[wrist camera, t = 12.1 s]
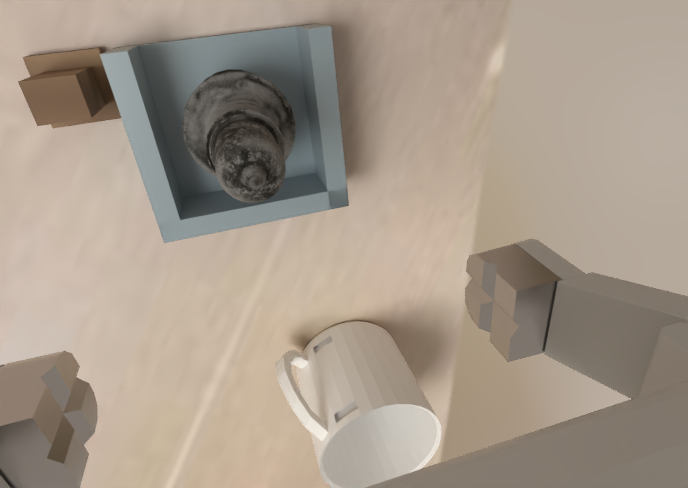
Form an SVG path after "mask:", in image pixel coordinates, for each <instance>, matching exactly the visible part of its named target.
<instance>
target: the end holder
mask: <svg viewBox="0 0 688 488" xmlns="http://www.w3.org/2000/svg"><path fill="white" fill-rule="evenodd" d="M100 57H101V60H102V63H103V66H104V68H105V71H106V74H107V77H108V80H109V83H110V86H111V89H112V92H113V95H114V98H115V101H116V103H117V106H118V109H119V112H120V115H121V118H122V121H123V124H124V127H125V130H126V133H127V136H128V138H129V141H130V144H131V147H132V150H133V153H134V156H135V159H136V162H137V165H138V168H139V171H140V173H141V176H142V179H143V182H144V185H145V188H146V191H147V194H148V197H149V200H150V203H151V206H152V208H153V211H154V214H155V217H156V220H157V223H158V226H159V229H160V232H161V235H162V238H163V241H164V243H167V242H172V241H177V240H182V239H187V238H192V237H197V236H202V235H207V234H212V233H217V232H222V231H226V230H231V229H236V228H241V227H246V226H251V225H256V224H261V223H266V222H271V221H276V220H281V219H286V218H291V217H296V216H301V215H305V214H310V213H315V212H320V211H325V210H330V209H335V208H340V207H345V206H349V203H348V193H347V183H346V172H345V162H344V152H343V142H342V131H341V121H340V111H339V101H338V90H337V80H336V70H335V60H334V49H333V39H332V29H331V26H327V25H320V24H309V25H300V26H292V27H284V28H275V29H267V30H259V31H250V32H242V33H234V34H225V35H217V36H209V37H200V38H192V39H184V40H176V41H167V42H159V43H151V44H142V45H134V46H126V47H117V48H114V49H111V50H109V51H106V52H104V53H102V54H100ZM228 69H230V70H243V71H246V72H250V73H253V74H255V75H258V76H261V77H263V78H264V79H266V80H267V81H269V82H271V83H272V84H274V85H275V86H276V87H277V88H278V89H279V90H280V91H281V92H282V94H283V95H284V96H285V97H286V99H287V101H288V103H289V105H290V106H291V108H292V112H293V115H294V119H295V140H294V144H293V148H292V151H291V152H290V154H289V156H288V158H287V160H286V161H285V164H286V173H285V178H284V182H283V184H282V186H281V188H280V189H279V191H278V192H277V193H276V194H275V195H274V196H272V197H271V198H269V199H267V200H265V201H262V202H259V203H247V202H242V201H239V200H237V199H235V198H233V197H232V196H230V195H229V194H228V193H227V192H226V191H225V190H224V189H223V187H222V186H221V185H220V183H219V181H218V179H217V177H216V176H213V175H211V174H209V173H208V172H207V171H206V170H205V169H203V168H202V167H201V166H200V165H198V163H197V162H196V161H195V159H194V158H193V157H192V155H191V154H190V153H189V150H188V148H187V145H186V143H185V140H184V137H183V128H182V120H183V114H184V108H185V106H186V104H187V102H188V100H189V97H190V95H191V94H192V93H193V92H194V91H195V89H196V88H197V87H198V86H199V85H200V84H201V83H202V82H203V81H204V80H205V79H206V78H208V77H210V76H211V75H213V74H215V73H216V72H220V71H224V70H228Z"/></svg>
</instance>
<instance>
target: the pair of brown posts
mask: <svg viewBox="0 0 688 488" xmlns="http://www.w3.org/2000/svg"><path fill="white" fill-rule="evenodd" d="M102 53H103V52H102V49H101V47H100V48H91V49H83V50H75V51H66V52H58V53H49V54H41V55H33V56H26V57H23V59H24V62H25V64H26V67H27V69H28V71H29V74H30V76H31V77H29V78H27V79H24V80H21V81H19V82H18V83H19V85H20V87H21V89H22V92H23V94H24V96H25V98H26V101H27V103H28V105H29V108H30V110H31V112H32V114H33V117H34V119H35V121H36V123H37V126H41V125H48V124H51V125H52V128H57V127H64V126H71V125H78V124H84V123H91V122H98V121H105V120H111V119H118V118H121V115H120V112H119V109H118V106H117V103H116V101H115V98H114V95H113V92H112V89H111V86H110V83H109V80H108V77H107V74H106V71H105V68H104V66H103V63H102V60H101V57H100V54H102Z"/></svg>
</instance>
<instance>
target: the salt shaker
mask: <svg viewBox="0 0 688 488" xmlns="http://www.w3.org/2000/svg"><path fill="white" fill-rule="evenodd" d="M182 128H183V137H184V140H185V143H186V145H187V148H188V150H189V153H190V154H191V155H192V157H193V158H194V159H195V161H196V162H197V163H198V165H200V166H201V167H202V168H203V169H205V170H206V171H207V172H208V173H209V174H211V175H213V176H216V177H217V179H218V181H219V183H220V185H221V186H222V187H223V189H224V190H225V191H226V192H227V193H228V194H229V195H230V196H232V197H233V198H235V199H237V200H239V201H242V202H247V203H259V202H262V201H265V200H267V199H269V198H271V197H272V196H274V195H275V194H276V193H277V192H278V191H279V189H280V188H281V186H282V184H283V182H284V178H285V173H286V164H285V161H286V160H287V158H288V156H289V154H290V152H291V151H292V148H293V144H294V140H295V119H294V115H293V112H292V108H291V106H290V105H289V103H288V101H287V99H286V97H285V96H284V95H283V94H282V92H281V91H280V90H279V89H278V88H277V87H276V86H275V85H274V84H272V83H271V82H269V81H267V80H266V79H264V78H263V77H261V76H258V75H255V74H253V73H250V72H246V71H243V70H230V69H228V70H224V71H220V72H216V73H215V74H213V75H211V76H210V77H208V78H206V79H205V80H204V81H203V82H202V83H201V84H200V85H199V86H198V87H197V88H196V89H195V91H194V92H193V93H192V94H191V95H190V97H189V100H188V102H187V104H186V106H185V108H184V114H183V120H182Z"/></svg>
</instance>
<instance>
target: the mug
mask: <svg viewBox="0 0 688 488" xmlns="http://www.w3.org/2000/svg"><path fill="white" fill-rule="evenodd" d="M291 364H292V365H295V366H297V378H298V383H299V387H300V391H301V393H300V391H299V389H298V387H297V385H296V383H295V380H294V378H293V375H292V371H291ZM276 371H277V372H276V375H277V379H278V382H279V384H280V386H281V388H282V390H283V393H284V395H285V397H286V399H287V401H288V403H289V404H290V406H291V408H292V410H293V411H294V412H295V414H296V415H297V417H298V418H299V419H300V421H301V422H302V424H303V425H304V426H305V428H307V429H308V430H309V431H310V432H311V437H312V441H313V445H314V449H315V453H316V457H317V461H318V466H319V470H320V474H321V476H322V478H323V480H324V481H325V482H326V483H327V484H328V485H329V486H330V487H331V488H365V487H368V486H371V485H374V484H377V483H380V482H383V481H386V480H389V479H392V478H395V477H398V476H401V475H404V474H407V473H411V472H414V471H417V470H420V469H422V468H423V467H424V466H425V465H426V464H427V463H428V461H429V460H430V459H431V458H432V456H433V455H434V454H435V452H436V450H437V448H438V446H439V443H440V440H441V425H440V422H439V420H438V418H437V416H436V415H435V413H434V411H433V409H432V407H431V406H430V404H429V402H428V400H427V399H426V397H425V395H424V393H423V391H422V390H421V388H420V386H419V384H418V382H417V381H416V379H415V377H414V375H413V374H412V372H411V370H410V368H409V366H408V365H407V363H406V361H405V359H404V357H403V356H402V354H401V352H400V350H399V349H398V347H397V345H396V343H395V341H394V340H393V338H392V337H391V335H390V334H389V333H388V332H387V331H386V330H385V329H383V328H381V327H380V326H378V325H375V324H372V323H368V322H362V321H351V322H345V323H341V324H337V325H335V326H332V327H330V328H328V329H326V330H324V331H323V332H321V333H319V334H318V335H317V336H316V337H315V338H313V339H312V340H311V341H310V343H309V344H308V345H307V346H306V347H305V349H304V351H303V353H300V352H298V351H297V350H291V351H288V352H286V353H285V354H284V355H283V356H282V357H281V358H280V359H279V360H278V361H277V362H276Z"/></svg>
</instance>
